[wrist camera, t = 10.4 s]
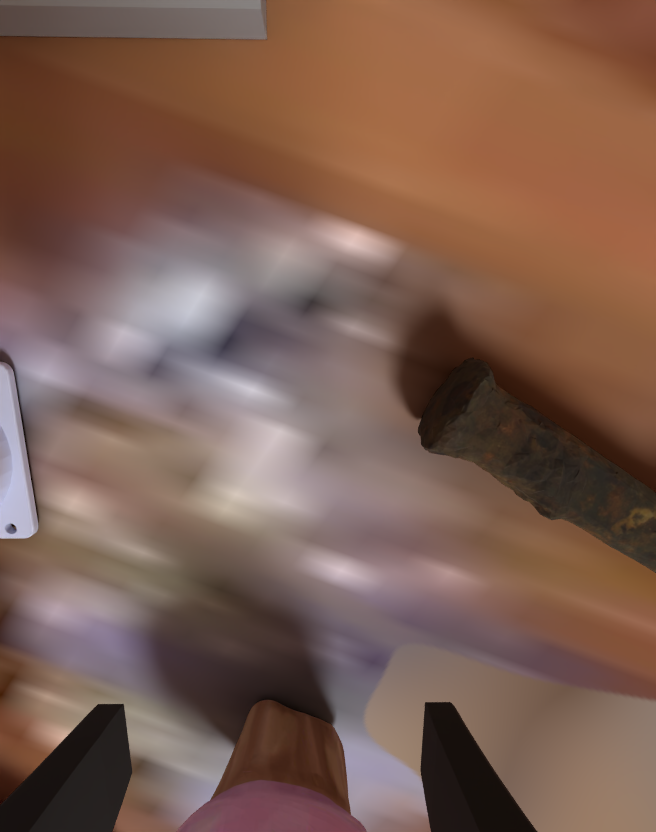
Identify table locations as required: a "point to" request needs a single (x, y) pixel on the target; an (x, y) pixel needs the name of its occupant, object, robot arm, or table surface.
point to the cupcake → (280, 778)
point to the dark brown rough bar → (539, 461)
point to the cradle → (135, 18)
